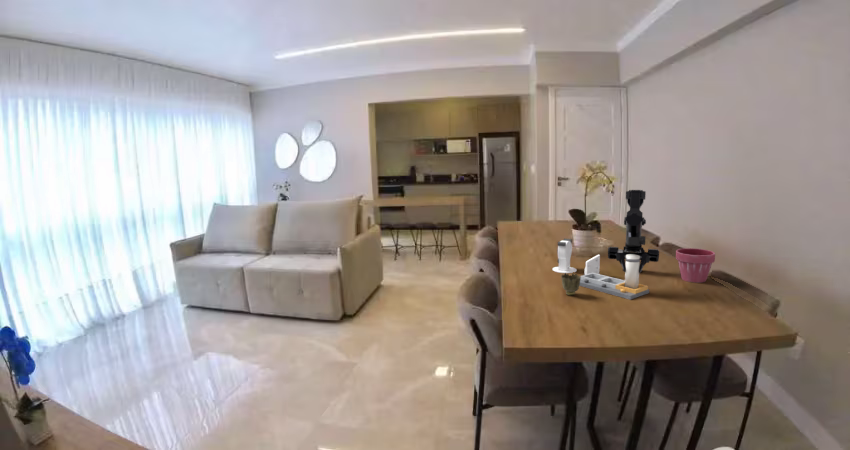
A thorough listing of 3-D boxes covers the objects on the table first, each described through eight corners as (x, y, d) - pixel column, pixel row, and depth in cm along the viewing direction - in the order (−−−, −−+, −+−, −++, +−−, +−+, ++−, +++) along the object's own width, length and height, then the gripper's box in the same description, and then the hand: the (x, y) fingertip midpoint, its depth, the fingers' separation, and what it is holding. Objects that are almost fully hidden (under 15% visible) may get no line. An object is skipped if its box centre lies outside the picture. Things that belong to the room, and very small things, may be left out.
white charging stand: (557, 265, 213) (557, 237, 210) (579, 268, 206) (580, 239, 204) (549, 271, 203) (549, 241, 201) (572, 274, 196) (573, 243, 194)
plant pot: (677, 283, 177) (679, 254, 175) (671, 274, 190) (673, 247, 188) (717, 285, 171) (719, 256, 169) (708, 276, 184) (710, 248, 182)
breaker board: (593, 278, 188) (593, 272, 188) (649, 292, 166) (649, 285, 166) (574, 284, 181) (574, 277, 181) (630, 299, 159) (630, 292, 159)
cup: (580, 292, 170) (580, 273, 169) (580, 298, 163) (581, 278, 162) (561, 291, 173) (561, 272, 171) (560, 296, 166) (561, 277, 165)
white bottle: (632, 284, 170) (634, 253, 168) (641, 287, 165) (642, 256, 163) (621, 285, 169) (622, 254, 167) (630, 289, 164) (631, 257, 162)
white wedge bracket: (609, 270, 191) (599, 255, 190) (589, 281, 192) (580, 266, 192) (606, 268, 194) (597, 253, 194) (587, 279, 196) (578, 264, 195)
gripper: (608, 227, 171) (606, 259, 163) (660, 229, 162) (660, 263, 155) (609, 242, 179) (606, 273, 171) (658, 245, 171) (658, 277, 163)
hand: (632, 271), depth 165 cm, fingers closed on white bottle, 5 cm apart
